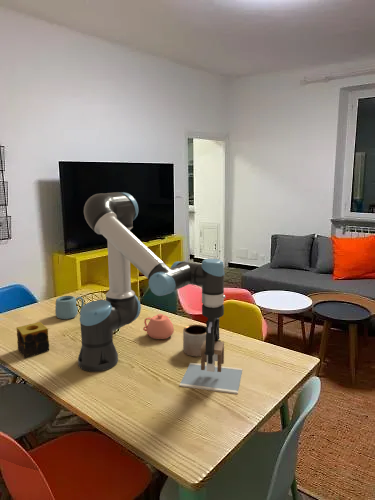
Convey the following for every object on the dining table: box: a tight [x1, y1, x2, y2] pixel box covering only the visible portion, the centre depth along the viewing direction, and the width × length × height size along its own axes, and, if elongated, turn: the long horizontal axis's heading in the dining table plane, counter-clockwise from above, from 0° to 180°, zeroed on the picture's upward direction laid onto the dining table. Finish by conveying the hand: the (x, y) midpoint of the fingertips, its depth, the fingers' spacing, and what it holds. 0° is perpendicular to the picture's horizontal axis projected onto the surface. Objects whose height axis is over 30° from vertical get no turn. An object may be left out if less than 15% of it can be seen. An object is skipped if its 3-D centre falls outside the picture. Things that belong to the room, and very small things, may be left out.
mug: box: [54, 295, 85, 320], centre depth 194 cm, size 15×11×10 cm
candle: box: [16, 321, 50, 359], centre depth 156 cm, size 10×10×10 cm
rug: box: [178, 362, 243, 395], centre depth 135 cm, size 20×16×1 cm
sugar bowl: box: [142, 313, 175, 340], centre depth 170 cm, size 12×14×10 cm
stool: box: [200, 340, 225, 372], centre depth 133 cm, size 7×7×8 cm
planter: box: [182, 324, 207, 358], centre depth 154 cm, size 11×11×10 cm
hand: (212, 365), depth 134 cm, fingers closed on stool, 7 cm apart
